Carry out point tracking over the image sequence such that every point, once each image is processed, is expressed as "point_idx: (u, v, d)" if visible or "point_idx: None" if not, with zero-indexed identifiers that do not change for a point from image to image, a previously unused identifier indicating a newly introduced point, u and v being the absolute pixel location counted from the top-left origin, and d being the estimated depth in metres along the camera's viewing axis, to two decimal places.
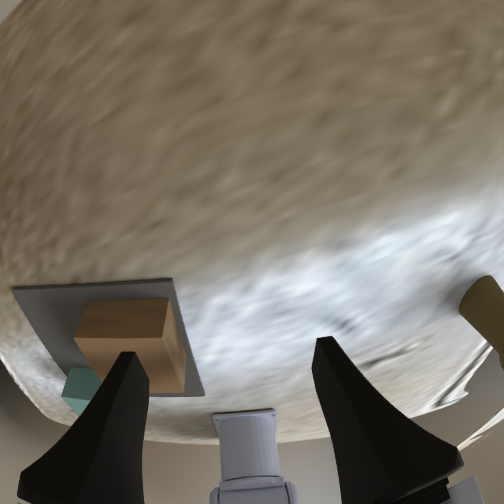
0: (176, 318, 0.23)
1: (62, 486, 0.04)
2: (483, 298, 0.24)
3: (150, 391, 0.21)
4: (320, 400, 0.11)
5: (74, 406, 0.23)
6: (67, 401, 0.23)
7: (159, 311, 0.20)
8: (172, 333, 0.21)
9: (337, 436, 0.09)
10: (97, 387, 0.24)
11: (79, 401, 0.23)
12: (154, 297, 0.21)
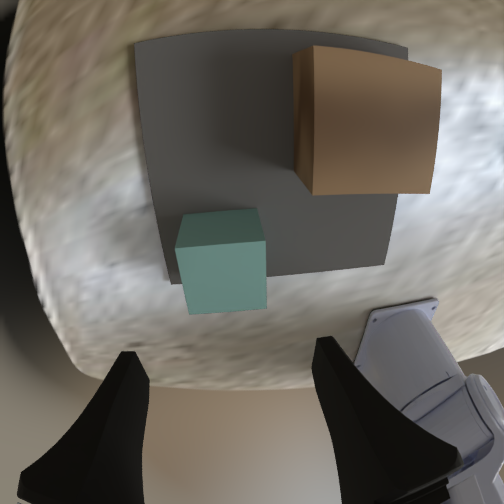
0: None
1: (62, 486, 0.04)
2: None
3: (388, 190, 0.14)
4: (320, 400, 0.11)
5: (194, 278, 0.15)
6: (183, 262, 0.15)
7: None
8: None
9: (337, 436, 0.09)
10: (255, 225, 0.16)
11: (218, 253, 0.15)
12: None
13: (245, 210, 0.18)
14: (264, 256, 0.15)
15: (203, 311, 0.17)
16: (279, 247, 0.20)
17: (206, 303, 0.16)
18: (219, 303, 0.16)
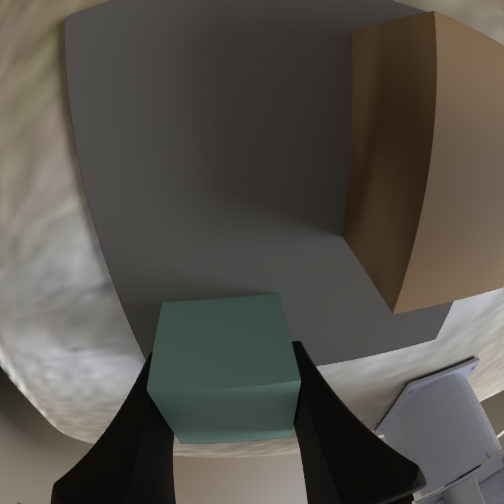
0: None
1: (104, 497, 0.04)
2: None
3: (493, 286, 0.07)
4: None
5: (183, 418, 0.09)
6: (164, 404, 0.08)
7: None
8: None
9: (302, 443, 0.09)
10: (280, 340, 0.09)
11: (220, 397, 0.08)
12: None
13: (261, 298, 0.11)
14: (296, 395, 0.08)
15: (200, 442, 0.10)
16: (308, 338, 0.13)
17: (204, 436, 0.10)
18: (223, 436, 0.10)
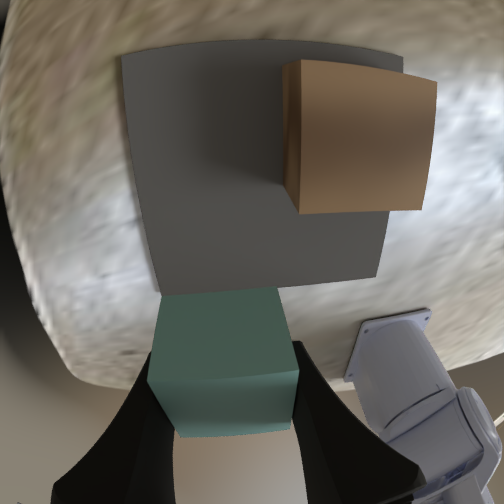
0: None
1: (103, 497, 0.04)
2: None
3: (378, 207, 0.14)
4: None
5: (183, 410, 0.09)
6: (164, 395, 0.08)
7: None
8: None
9: (302, 443, 0.09)
10: (278, 331, 0.09)
11: (219, 387, 0.08)
12: None
13: (259, 291, 0.11)
14: (294, 386, 0.09)
15: (200, 435, 0.10)
16: (269, 261, 0.20)
17: (204, 430, 0.10)
18: (223, 429, 0.10)
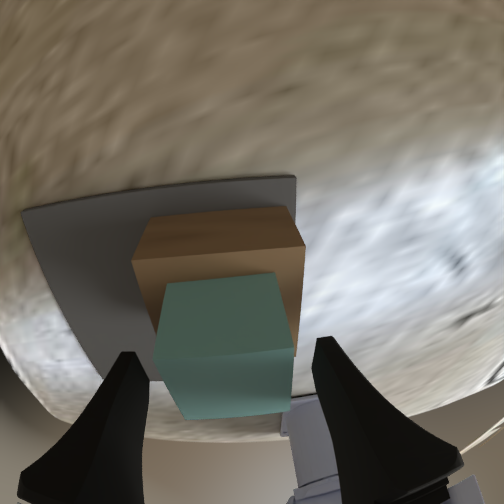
0: None
1: (62, 486, 0.04)
2: None
3: None
4: (320, 400, 0.11)
5: (186, 390, 0.10)
6: (169, 374, 0.09)
7: (280, 218, 0.14)
8: None
9: (337, 436, 0.09)
10: (275, 312, 0.10)
11: (220, 364, 0.09)
12: (264, 204, 0.15)
13: (258, 277, 0.12)
14: (291, 364, 0.09)
15: (204, 417, 0.11)
16: None
17: (207, 411, 0.11)
18: (225, 411, 0.11)
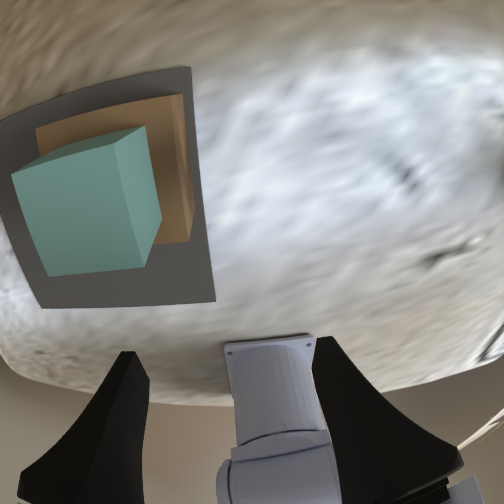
0: (188, 130, 0.15)
1: (62, 486, 0.04)
2: None
3: None
4: (320, 400, 0.11)
5: (37, 218, 0.09)
6: (22, 194, 0.08)
7: (168, 95, 0.13)
8: (181, 133, 0.14)
9: (337, 436, 0.09)
10: (120, 136, 0.09)
11: (56, 173, 0.08)
12: (162, 93, 0.14)
13: (128, 129, 0.11)
14: (117, 171, 0.08)
15: (62, 271, 0.10)
16: (103, 284, 0.20)
17: (61, 258, 0.10)
18: (77, 258, 0.10)
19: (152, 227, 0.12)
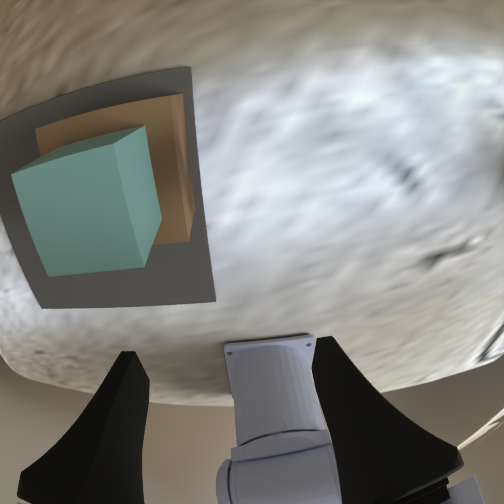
0: (188, 130, 0.15)
1: (62, 486, 0.04)
2: None
3: None
4: (320, 400, 0.11)
5: (37, 218, 0.09)
6: (22, 194, 0.08)
7: (168, 95, 0.13)
8: (181, 133, 0.14)
9: (337, 436, 0.09)
10: (120, 136, 0.09)
11: (56, 173, 0.08)
12: (162, 93, 0.14)
13: (128, 129, 0.11)
14: (117, 171, 0.08)
15: (62, 271, 0.10)
16: (103, 284, 0.20)
17: (61, 258, 0.10)
18: (77, 258, 0.10)
19: (152, 227, 0.12)
